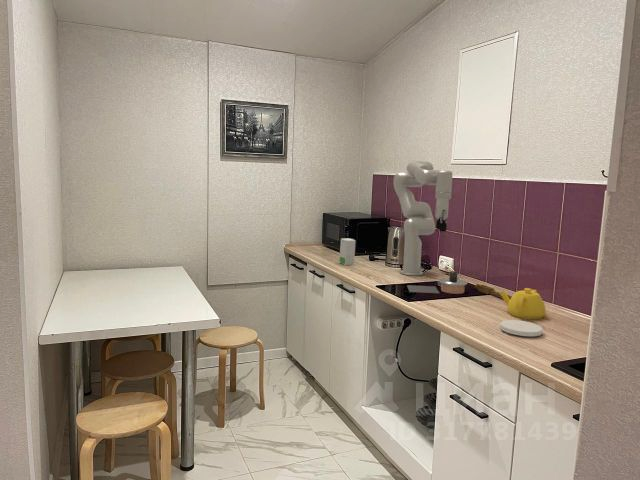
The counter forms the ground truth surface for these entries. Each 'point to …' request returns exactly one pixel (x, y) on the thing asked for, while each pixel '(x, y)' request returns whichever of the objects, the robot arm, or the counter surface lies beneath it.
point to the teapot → (525, 304)
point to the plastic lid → (521, 328)
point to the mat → (422, 289)
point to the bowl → (452, 289)
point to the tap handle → (489, 290)
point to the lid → (453, 280)
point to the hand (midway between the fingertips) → (441, 230)
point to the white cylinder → (347, 251)
